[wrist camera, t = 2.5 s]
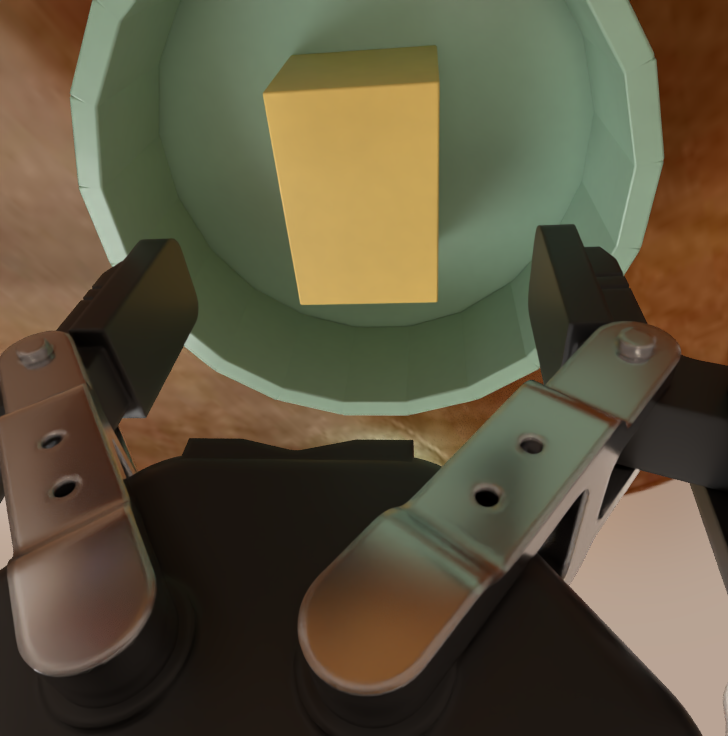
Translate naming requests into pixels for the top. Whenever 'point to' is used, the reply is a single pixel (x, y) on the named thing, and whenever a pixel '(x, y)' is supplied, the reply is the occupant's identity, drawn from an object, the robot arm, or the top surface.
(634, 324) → the robot arm
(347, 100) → the cheese
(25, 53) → the top surface
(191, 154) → the pan
